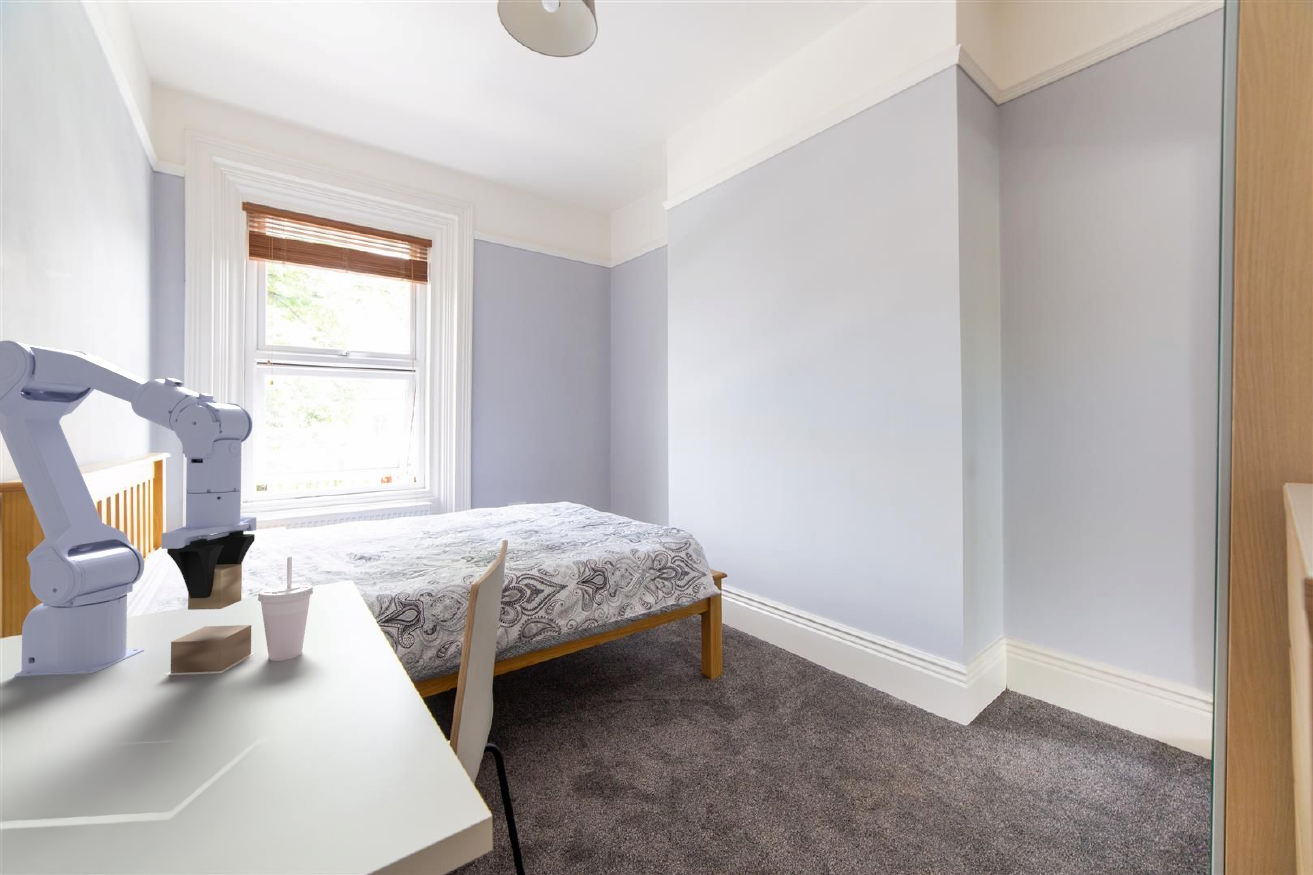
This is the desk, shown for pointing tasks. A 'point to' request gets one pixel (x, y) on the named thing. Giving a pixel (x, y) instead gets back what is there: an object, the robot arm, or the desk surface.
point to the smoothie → (285, 617)
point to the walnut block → (210, 649)
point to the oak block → (221, 589)
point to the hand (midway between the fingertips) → (212, 592)
